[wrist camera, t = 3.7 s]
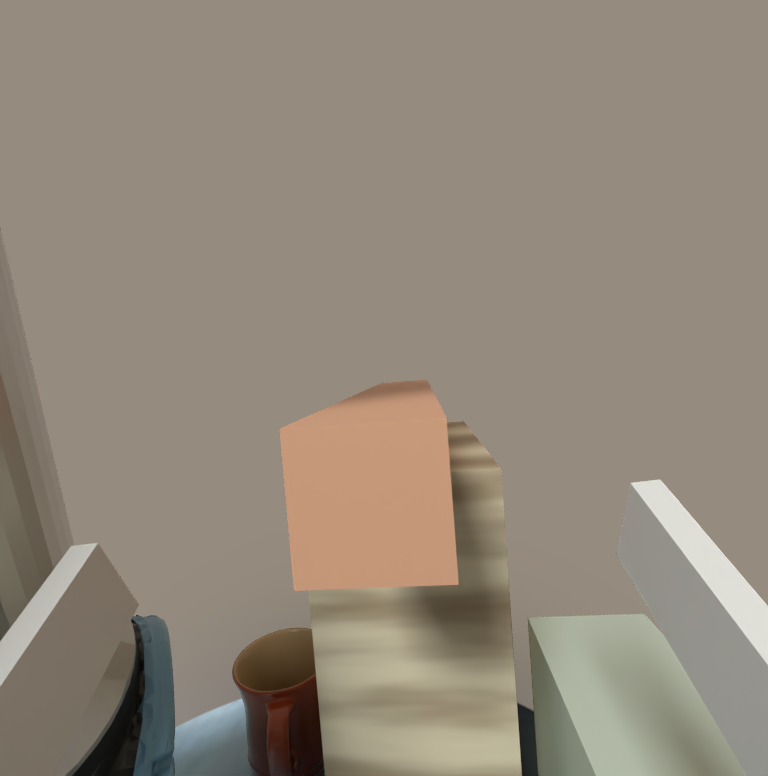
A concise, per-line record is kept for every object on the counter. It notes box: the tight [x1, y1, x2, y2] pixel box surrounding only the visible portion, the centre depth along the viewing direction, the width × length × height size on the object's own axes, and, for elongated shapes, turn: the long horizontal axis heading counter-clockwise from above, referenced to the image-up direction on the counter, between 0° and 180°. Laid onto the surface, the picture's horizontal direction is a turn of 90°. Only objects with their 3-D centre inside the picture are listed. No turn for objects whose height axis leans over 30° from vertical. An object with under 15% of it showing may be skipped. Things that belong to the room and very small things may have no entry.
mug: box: [232, 628, 325, 776], centre depth 38 cm, size 12×9×10 cm
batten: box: [280, 380, 459, 591], centre depth 24 cm, size 28×4×4 cm, turn 175°
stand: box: [309, 422, 522, 776], centre depth 31 cm, size 18×10×30 cm, turn 175°
